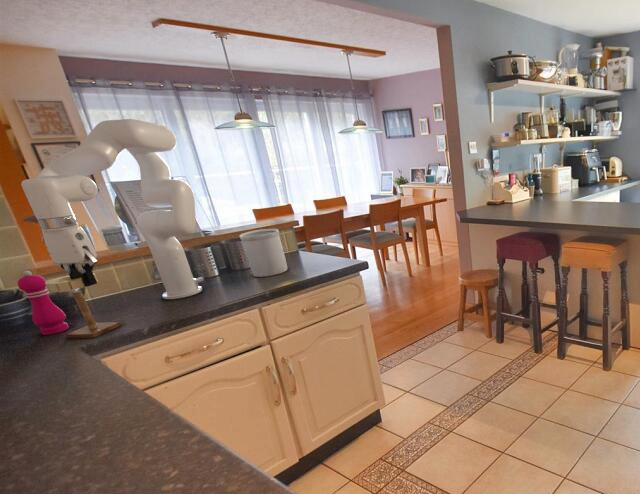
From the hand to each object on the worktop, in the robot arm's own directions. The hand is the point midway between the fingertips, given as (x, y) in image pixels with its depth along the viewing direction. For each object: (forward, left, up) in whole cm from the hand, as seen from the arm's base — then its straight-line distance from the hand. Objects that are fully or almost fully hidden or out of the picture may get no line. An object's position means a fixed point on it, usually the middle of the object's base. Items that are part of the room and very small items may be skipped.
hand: (85, 284), depth 129 cm
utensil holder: (-60, +16, -16) cm, 64 cm away
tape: (0, -4, 0) cm, 4 cm away
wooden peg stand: (0, -4, -15) cm, 16 cm away
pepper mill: (-1, -19, -16) cm, 25 cm away
